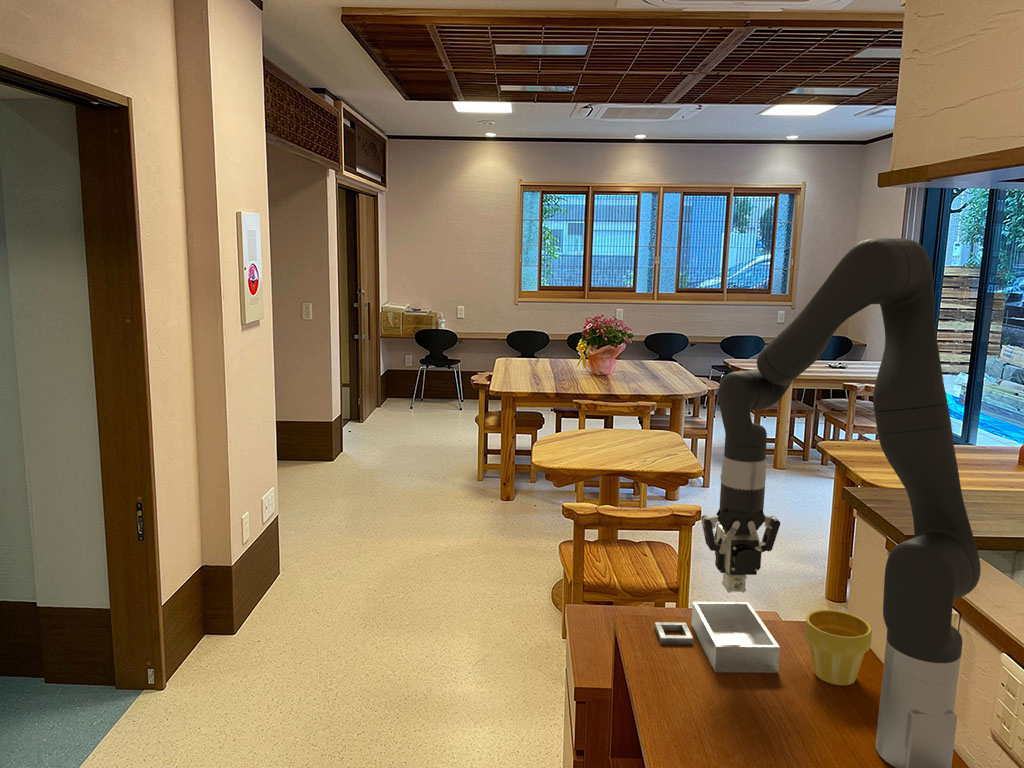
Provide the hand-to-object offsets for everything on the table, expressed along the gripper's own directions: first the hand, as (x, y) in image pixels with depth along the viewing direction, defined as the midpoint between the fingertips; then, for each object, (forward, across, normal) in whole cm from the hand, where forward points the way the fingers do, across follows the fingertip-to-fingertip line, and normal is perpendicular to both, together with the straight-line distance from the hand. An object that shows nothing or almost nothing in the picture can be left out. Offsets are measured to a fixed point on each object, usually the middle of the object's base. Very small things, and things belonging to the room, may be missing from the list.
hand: (737, 571), depth 133 cm
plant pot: (+15, +15, -9) cm, 23 cm away
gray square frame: (+15, -10, +4) cm, 18 cm away
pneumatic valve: (+4, 0, 0) cm, 4 cm away
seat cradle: (+15, 0, 0) cm, 15 cm away
